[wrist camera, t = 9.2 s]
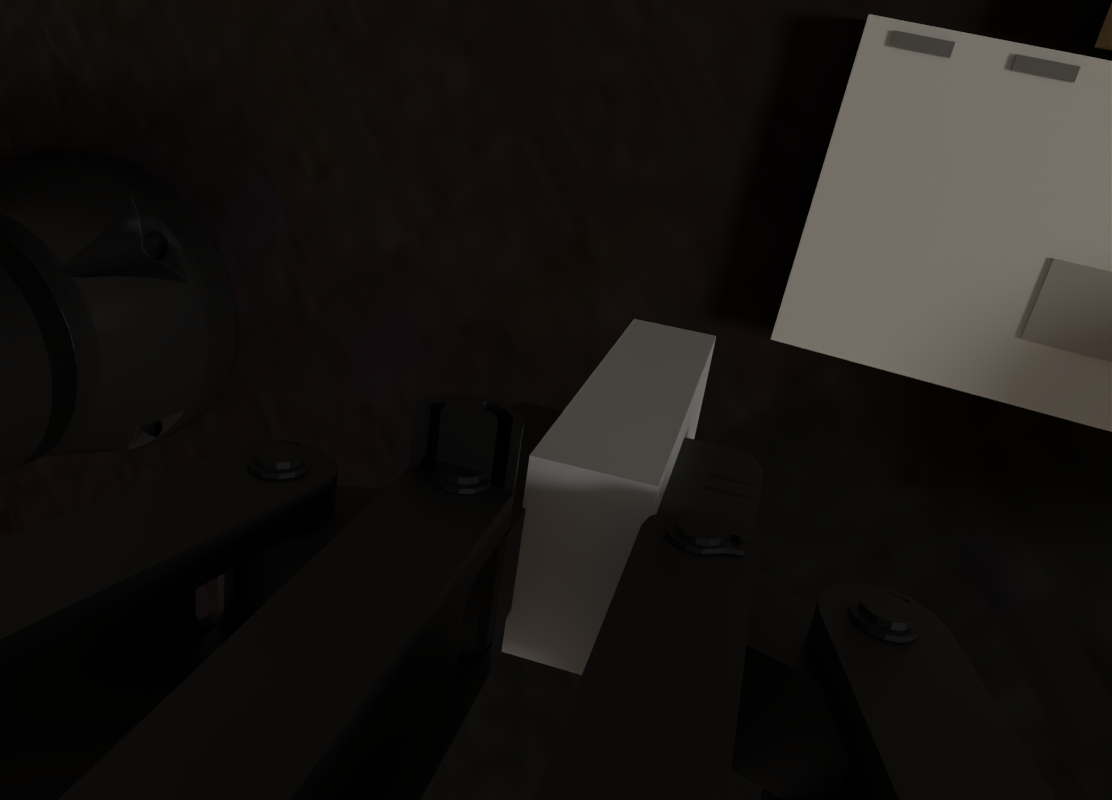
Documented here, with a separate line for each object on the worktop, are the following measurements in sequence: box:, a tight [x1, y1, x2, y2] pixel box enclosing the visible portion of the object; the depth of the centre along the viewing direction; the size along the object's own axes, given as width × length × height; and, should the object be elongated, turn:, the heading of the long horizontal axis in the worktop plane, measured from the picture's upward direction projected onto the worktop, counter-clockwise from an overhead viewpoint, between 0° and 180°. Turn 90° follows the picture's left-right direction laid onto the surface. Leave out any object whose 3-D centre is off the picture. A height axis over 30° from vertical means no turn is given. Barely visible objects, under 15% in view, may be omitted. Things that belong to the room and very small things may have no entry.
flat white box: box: [771, 14, 1112, 432], centre depth 32 cm, size 16×12×3 cm
